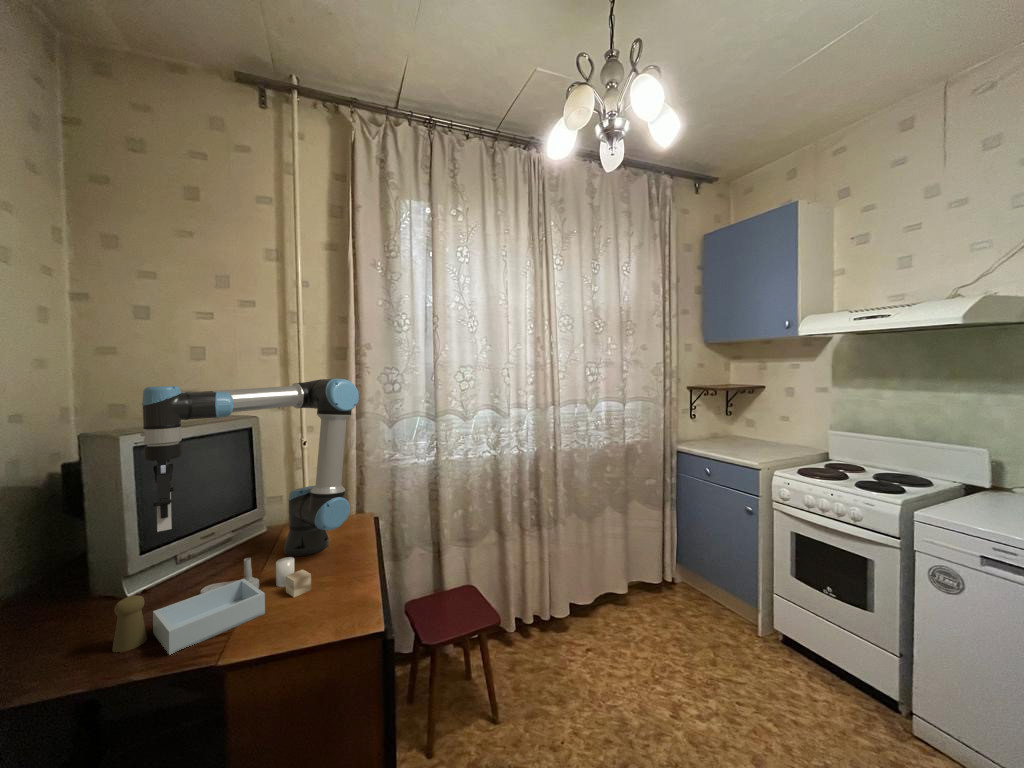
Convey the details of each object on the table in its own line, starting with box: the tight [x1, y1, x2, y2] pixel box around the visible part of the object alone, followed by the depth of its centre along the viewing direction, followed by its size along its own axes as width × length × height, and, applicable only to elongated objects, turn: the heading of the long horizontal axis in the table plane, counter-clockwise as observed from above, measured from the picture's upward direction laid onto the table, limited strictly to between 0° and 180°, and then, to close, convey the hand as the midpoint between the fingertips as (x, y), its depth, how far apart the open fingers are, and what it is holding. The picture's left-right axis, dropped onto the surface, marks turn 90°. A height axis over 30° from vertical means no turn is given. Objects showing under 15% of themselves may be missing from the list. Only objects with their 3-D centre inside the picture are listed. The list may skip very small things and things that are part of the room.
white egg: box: [275, 556, 295, 588], centre depth 122 cm, size 5×5×7 cm
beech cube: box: [285, 569, 312, 598], centre depth 117 cm, size 5×5×5 cm
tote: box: [152, 578, 266, 656], centre depth 101 cm, size 20×14×6 cm
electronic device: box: [199, 557, 260, 595], centre depth 116 cm, size 5×10×15 cm
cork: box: [111, 595, 148, 654], centre depth 94 cm, size 6×6×11 cm
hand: (164, 523), depth 104 cm, fingers open, 13 cm apart
